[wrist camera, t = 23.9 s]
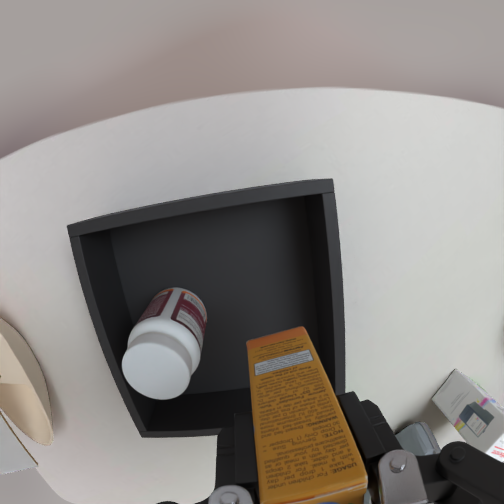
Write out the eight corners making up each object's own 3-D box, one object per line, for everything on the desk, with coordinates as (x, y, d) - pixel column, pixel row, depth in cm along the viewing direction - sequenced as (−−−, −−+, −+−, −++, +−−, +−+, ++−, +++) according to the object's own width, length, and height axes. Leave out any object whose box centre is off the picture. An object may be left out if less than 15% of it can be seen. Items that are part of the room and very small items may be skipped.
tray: (101, 215, 22) (66, 225, 17) (309, 179, 23) (333, 178, 17) (154, 397, 26) (141, 437, 21) (326, 374, 27) (344, 413, 21)
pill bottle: (150, 337, 24) (120, 398, 16) (149, 283, 23) (111, 331, 15) (206, 343, 24) (196, 409, 16) (209, 289, 23) (197, 342, 15)
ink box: (481, 385, 29) (543, 446, 15) (458, 413, 30) (512, 479, 16) (455, 366, 28) (530, 439, 13) (428, 398, 29) (492, 479, 14)
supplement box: (238, 339, 16) (255, 509, 6) (303, 322, 16) (383, 473, 6) (253, 387, 16) (278, 544, 6) (312, 372, 16) (377, 517, 7)
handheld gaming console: (365, 483, 32) (381, 523, 24) (348, 484, 32) (363, 526, 24) (421, 413, 29) (451, 454, 21) (405, 412, 29) (434, 457, 21)
